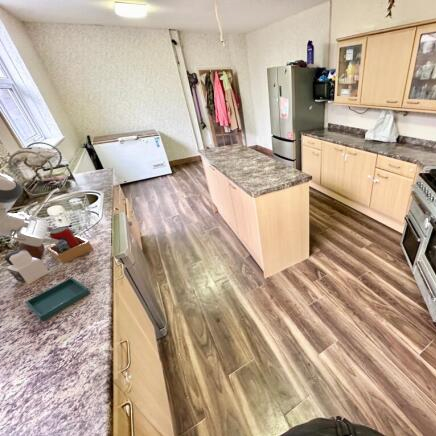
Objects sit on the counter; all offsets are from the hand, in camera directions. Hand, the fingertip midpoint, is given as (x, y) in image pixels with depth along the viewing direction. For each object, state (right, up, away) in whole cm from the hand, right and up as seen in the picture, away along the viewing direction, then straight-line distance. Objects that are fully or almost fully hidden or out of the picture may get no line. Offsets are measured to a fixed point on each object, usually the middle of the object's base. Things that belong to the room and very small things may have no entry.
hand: (59, 236), depth 102 cm
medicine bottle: (-1, -15, -9) cm, 18 cm away
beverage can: (+2, -7, +4) cm, 9 cm away
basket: (+2, -8, +5) cm, 9 cm away
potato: (-14, -9, +4) cm, 17 cm away
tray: (+20, -20, -20) cm, 35 cm away
